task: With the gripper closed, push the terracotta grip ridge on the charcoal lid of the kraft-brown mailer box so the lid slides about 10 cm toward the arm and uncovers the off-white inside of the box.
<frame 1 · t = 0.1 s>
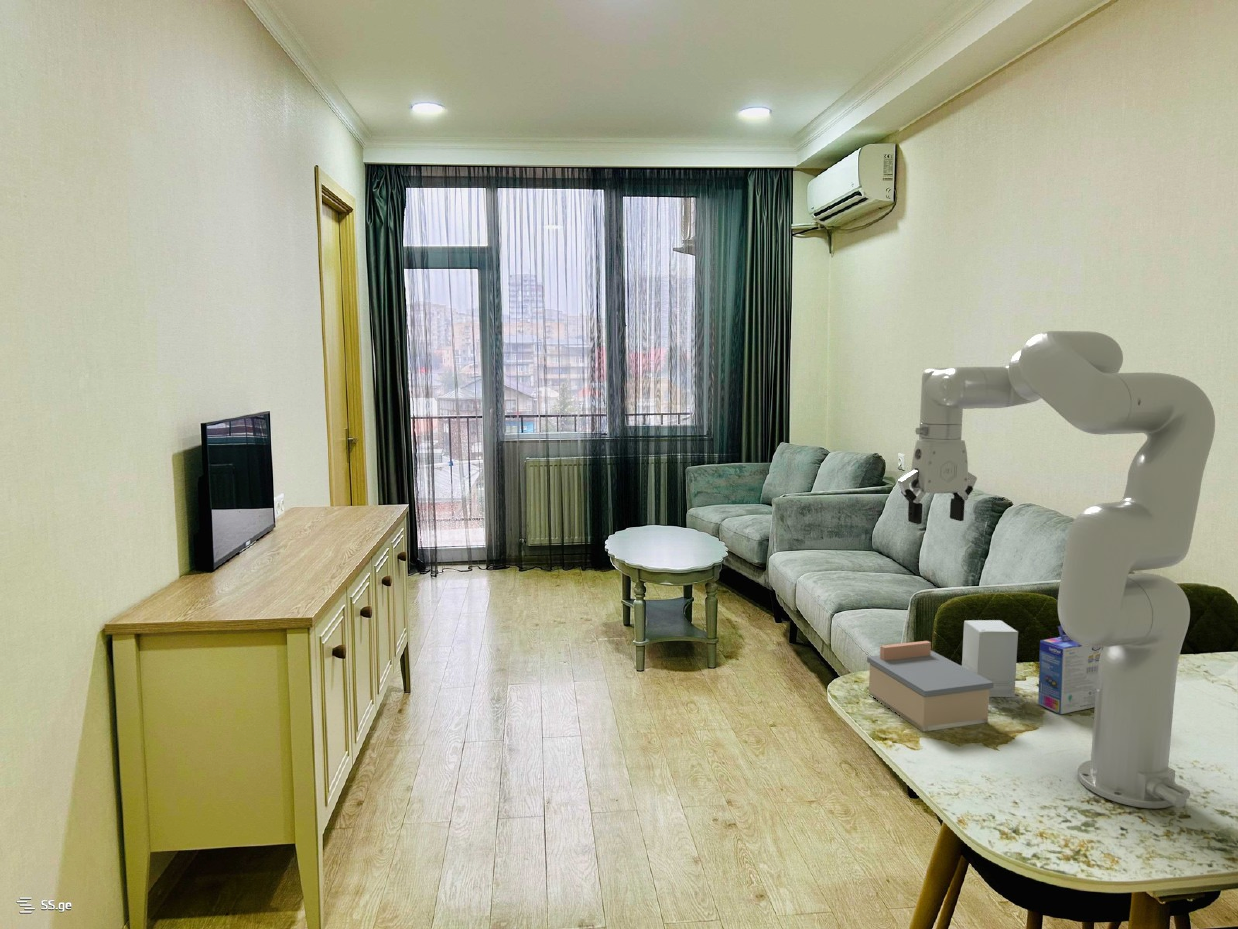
hand: (935, 521, 159), 31 cm above the table, tool pointing down, fingers open, 9 cm apart
mailer box: (925, 708, 148), on the table
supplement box: (987, 691, 156), on the table
ink cartridge box: (1067, 706, 149), on the table
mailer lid: (927, 665, 147), point 8 cm above the table, slide at 0.0 cm
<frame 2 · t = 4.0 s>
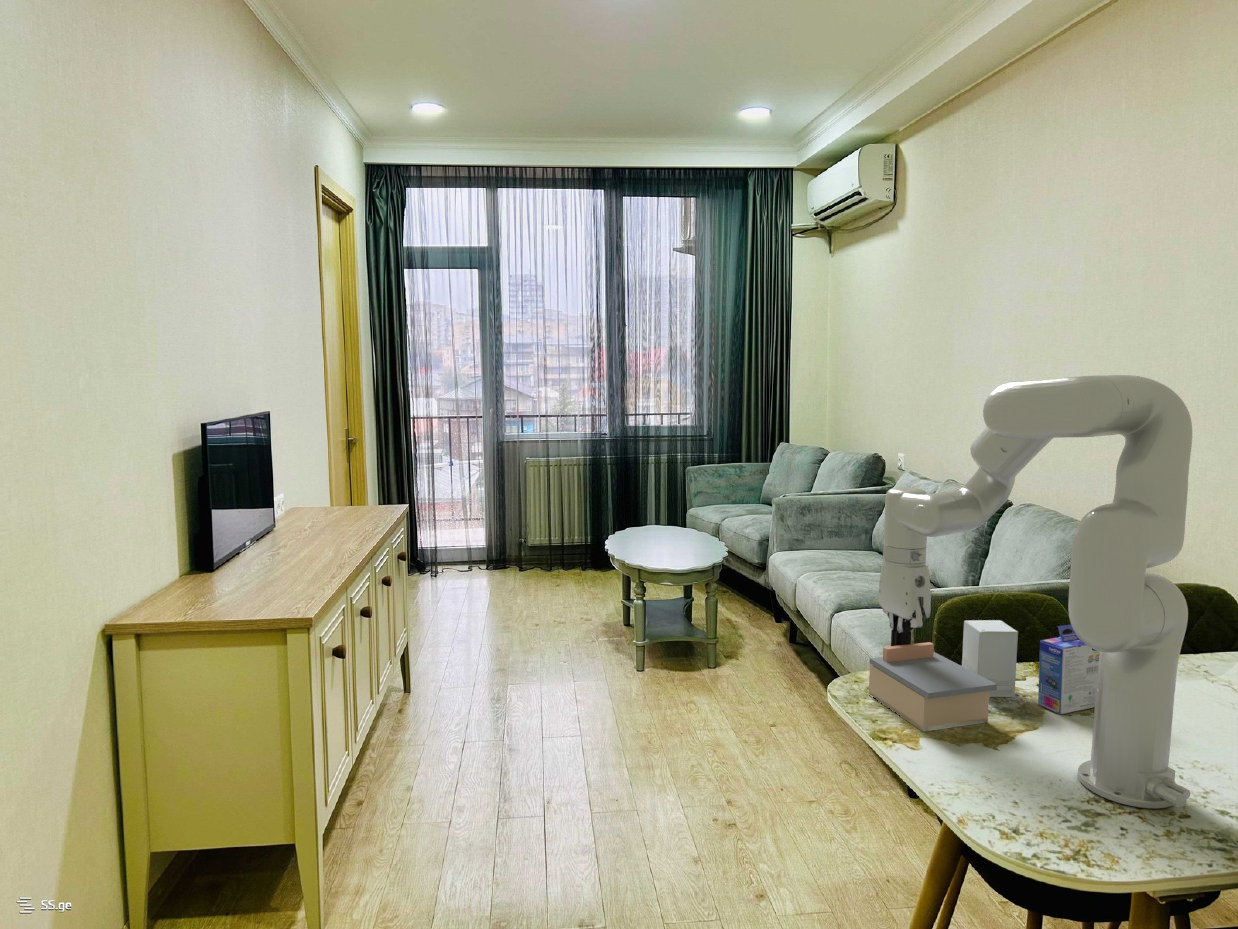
hand: (900, 650, 155), 8 cm above the table, tool pointing down, fingers closed
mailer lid: (930, 667, 146), point 8 cm above the table, slide at 0.8 cm, touching gripper
everything else where it was.
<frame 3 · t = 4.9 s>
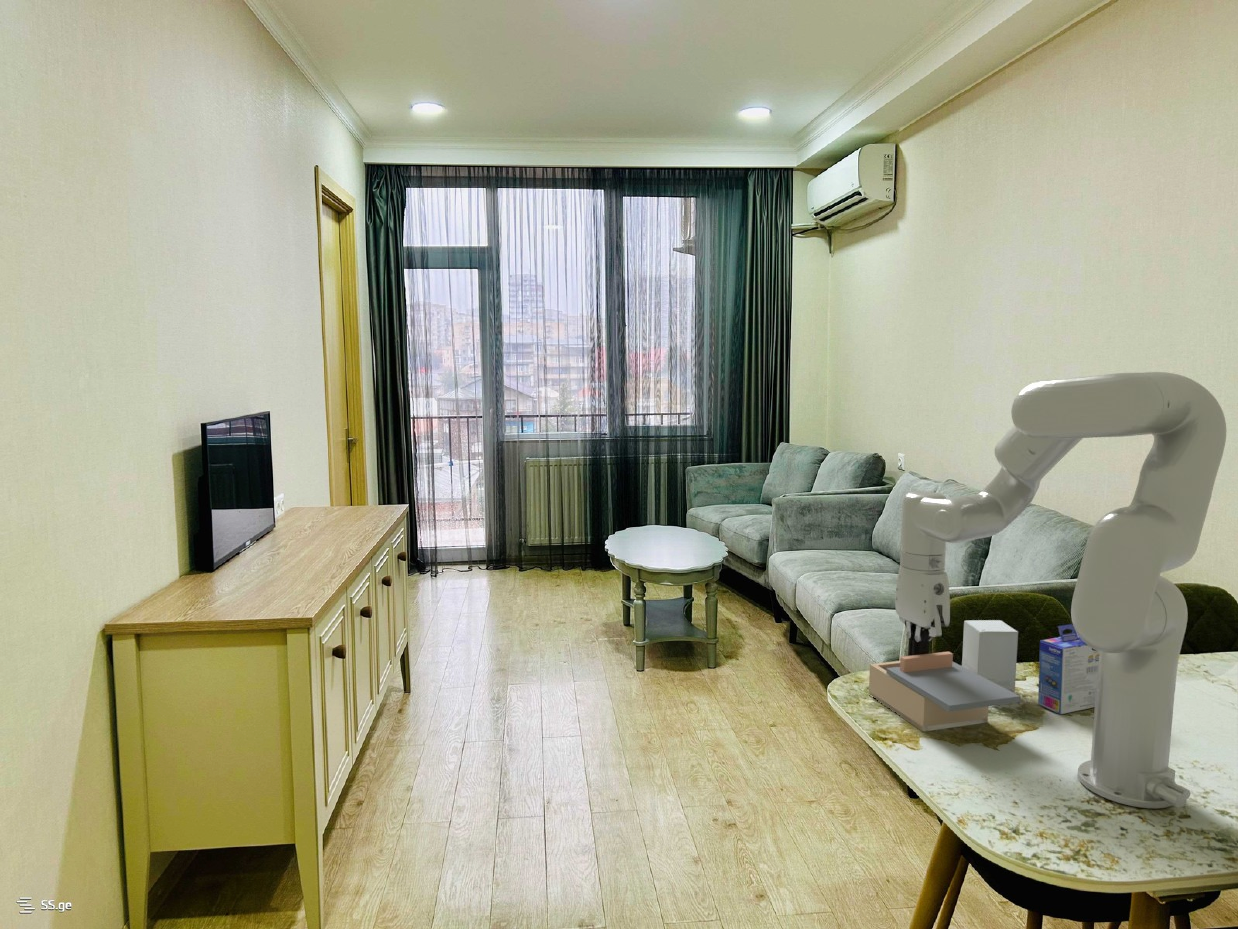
hand: (918, 660, 150), 8 cm above the table, tool pointing down, fingers closed
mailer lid: (950, 677, 141), point 8 cm above the table, slide at 6.1 cm, touching gripper
everything else where it was.
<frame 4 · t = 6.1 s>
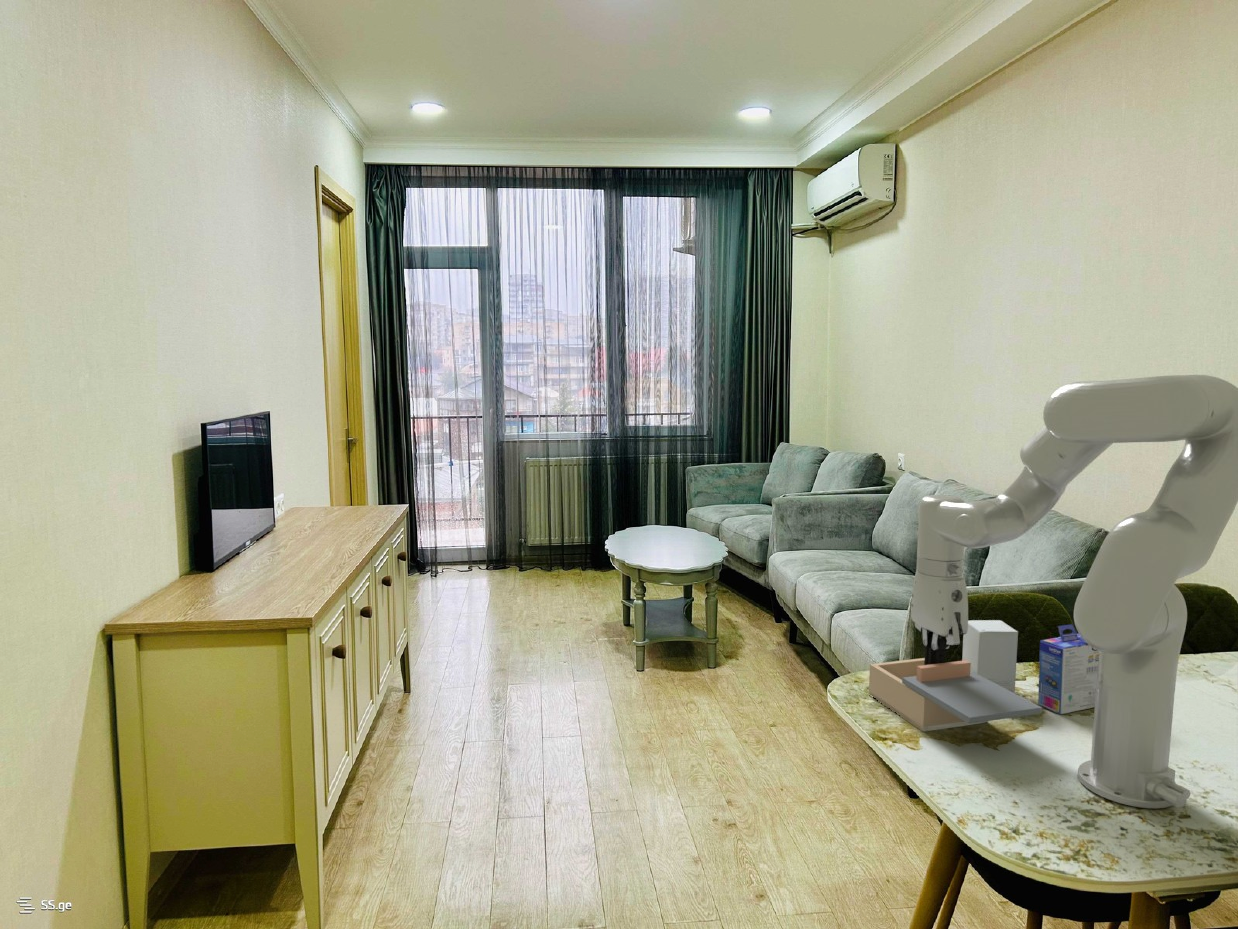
hand: (934, 668, 145), 8 cm above the table, tool pointing down, fingers closed
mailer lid: (969, 687, 137), point 8 cm above the table, slide at 10.8 cm, touching gripper
everything else where it was.
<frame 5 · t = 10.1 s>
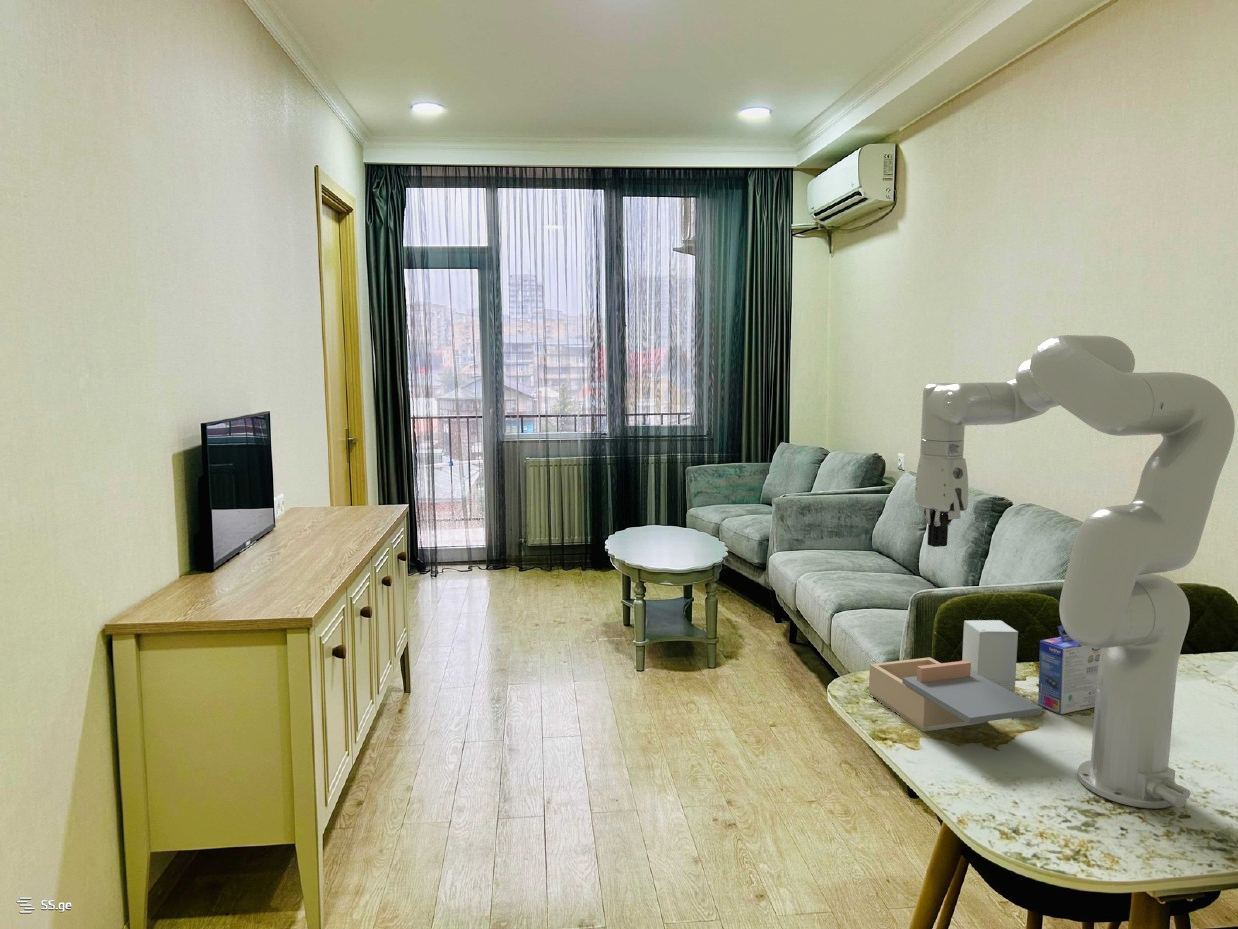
hand: (937, 545, 156), 27 cm above the table, tool pointing down, fingers closed
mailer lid: (969, 688, 137), point 8 cm above the table, slide at 10.8 cm
everything else where it was.
at the end: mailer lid slide at 10.8 cm; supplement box moved 0.2 cm from its start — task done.
